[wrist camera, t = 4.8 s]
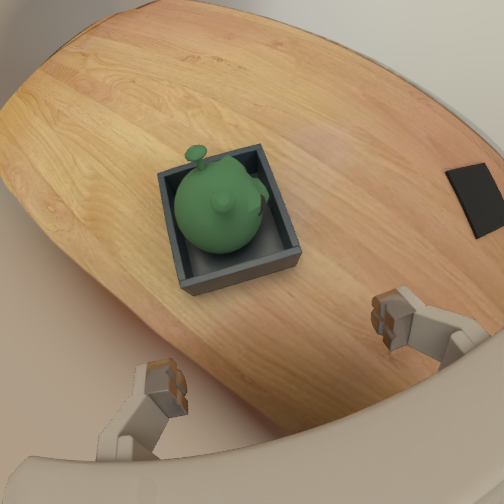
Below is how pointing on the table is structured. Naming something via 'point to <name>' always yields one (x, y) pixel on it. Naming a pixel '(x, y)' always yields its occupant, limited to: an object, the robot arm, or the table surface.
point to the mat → (478, 197)
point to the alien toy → (219, 203)
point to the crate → (249, 256)
